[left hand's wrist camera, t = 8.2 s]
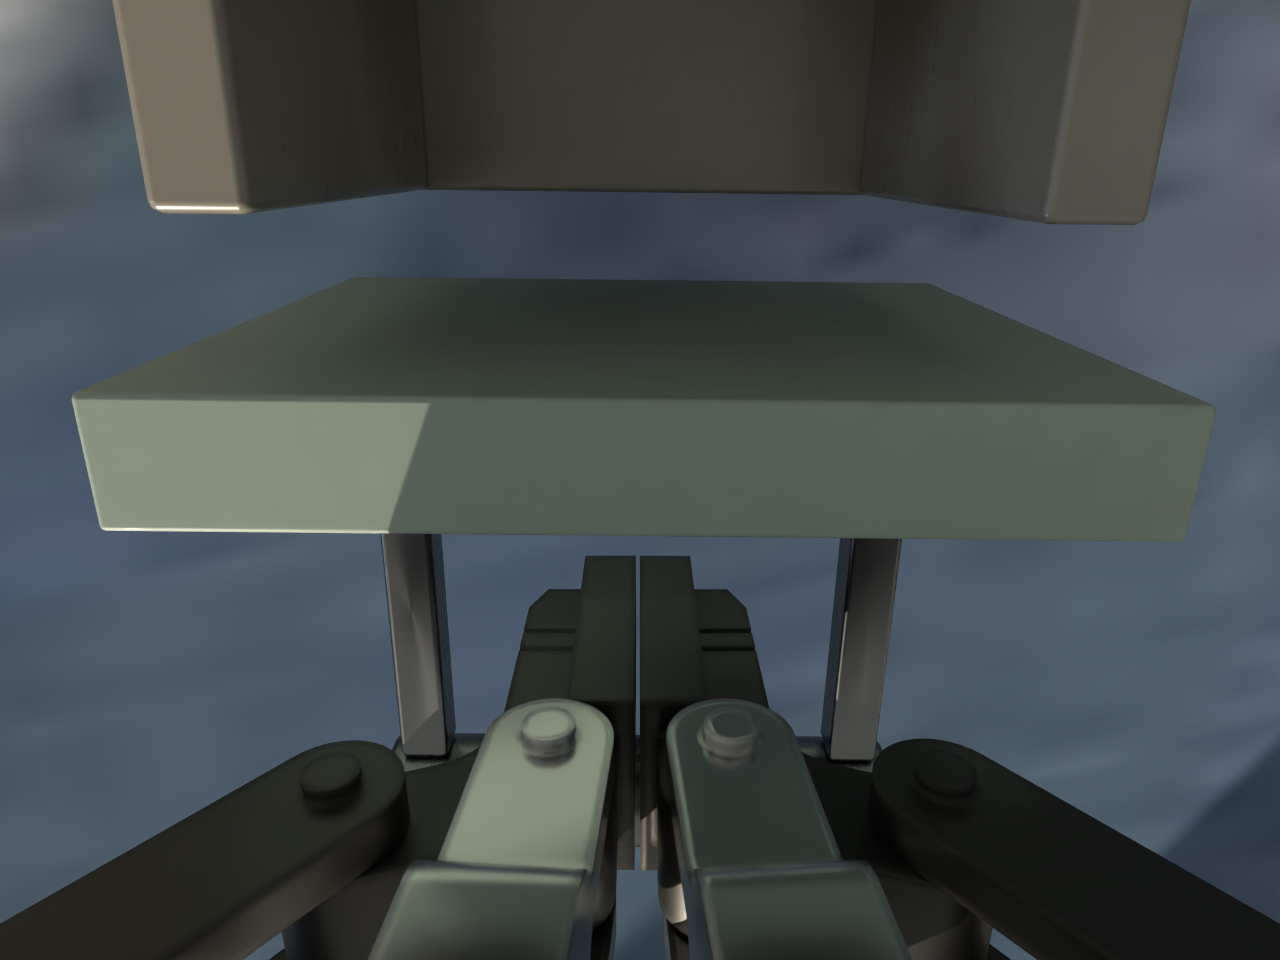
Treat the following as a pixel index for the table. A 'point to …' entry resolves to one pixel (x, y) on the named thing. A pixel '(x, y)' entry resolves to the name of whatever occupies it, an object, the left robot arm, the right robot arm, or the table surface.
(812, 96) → the drawer
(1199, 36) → the table surface
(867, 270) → the table surface
